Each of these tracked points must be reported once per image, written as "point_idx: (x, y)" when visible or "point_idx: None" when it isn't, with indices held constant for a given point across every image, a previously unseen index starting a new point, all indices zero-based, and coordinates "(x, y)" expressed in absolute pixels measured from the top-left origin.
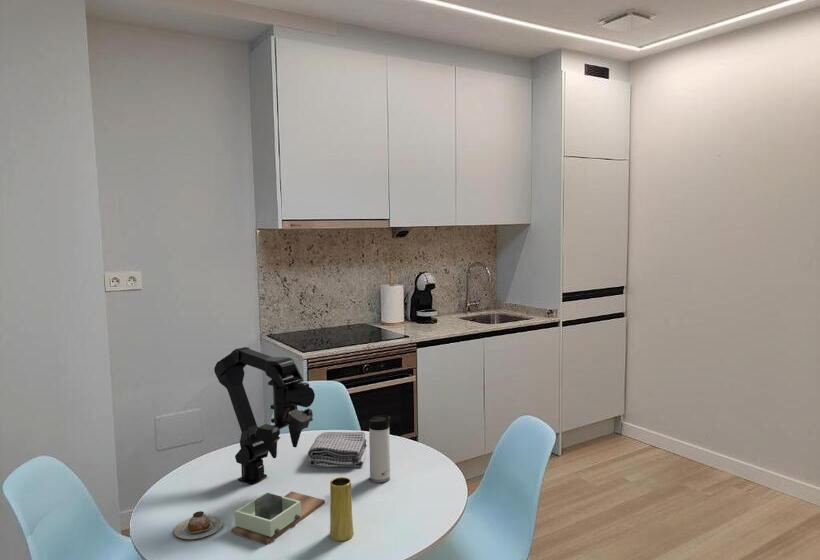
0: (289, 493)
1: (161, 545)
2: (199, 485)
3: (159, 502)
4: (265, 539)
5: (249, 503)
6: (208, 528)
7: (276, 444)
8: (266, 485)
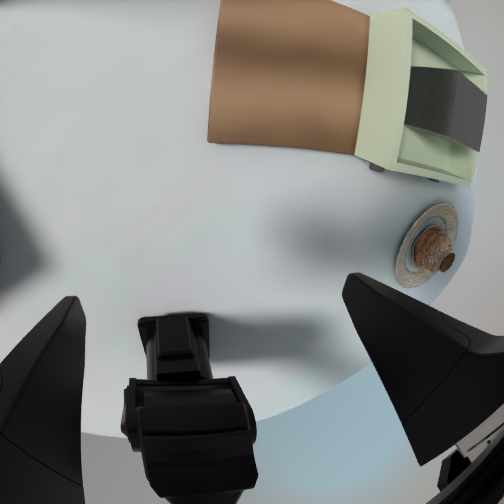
0: (230, 139)
1: (457, 254)
2: (266, 383)
3: (344, 369)
4: None
5: (446, 176)
6: (432, 227)
7: (455, 335)
8: (187, 279)
